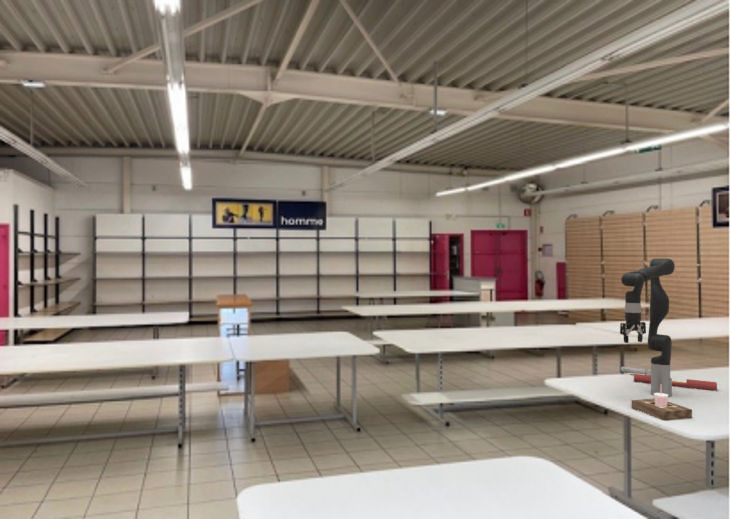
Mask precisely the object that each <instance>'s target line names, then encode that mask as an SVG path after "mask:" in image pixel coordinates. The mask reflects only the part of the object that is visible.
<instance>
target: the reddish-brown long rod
mask: <svg viewBox="0 0 731 519" xmlns="http://www.w3.org/2000/svg"><path fill="white" fill-rule="evenodd" d="M634 381H635V382H634ZM633 382H634V383H640V382H642V383H641V384H649V383H650V384H649V385H651V375H645V374H636V373H633ZM676 386H677V387H678V388H686V389H687V388H688V389H695V388H696V390H704V389H706V390H705V391H713V390H718V383H717V382H716V381H708V380H697V379H688V378H686V382H684V381H683V382H682V381H676V380H675V381H674V380H673V381H672V387H676Z"/></svg>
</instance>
